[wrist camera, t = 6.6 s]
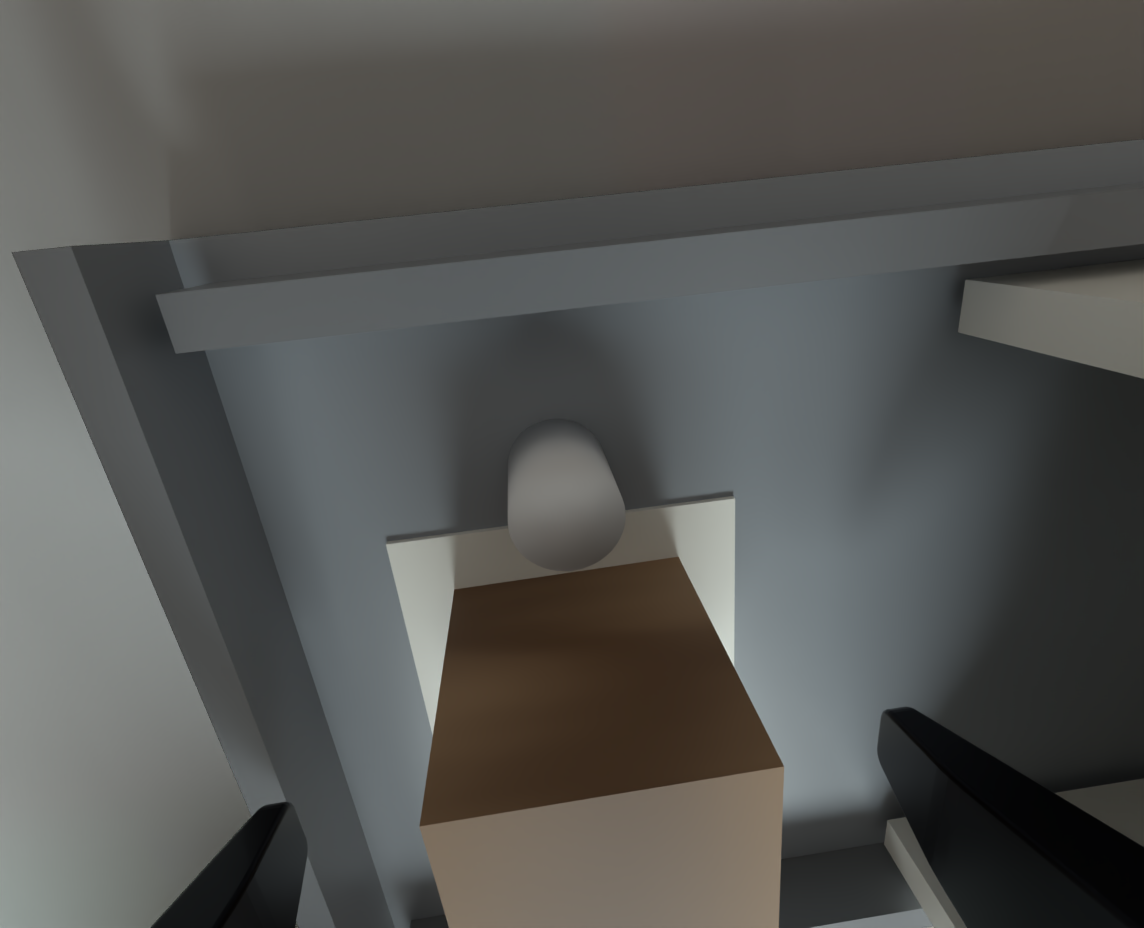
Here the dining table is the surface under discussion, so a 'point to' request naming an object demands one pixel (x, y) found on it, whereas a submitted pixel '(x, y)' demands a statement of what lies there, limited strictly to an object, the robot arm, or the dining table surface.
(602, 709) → the walnut block
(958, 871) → the robot arm
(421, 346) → the housing base
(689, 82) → the dining table surface
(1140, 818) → the cover
